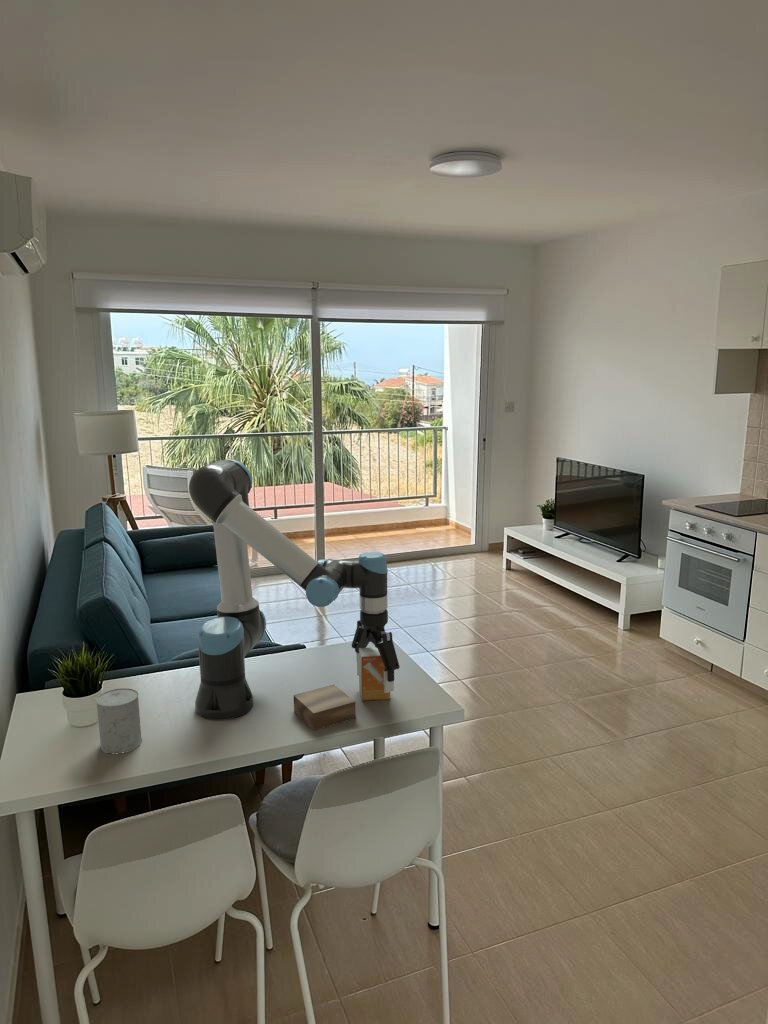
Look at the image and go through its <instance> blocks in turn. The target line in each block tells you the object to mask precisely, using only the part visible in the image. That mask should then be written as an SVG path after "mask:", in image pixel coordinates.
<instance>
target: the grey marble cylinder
mask: <svg viewBox="0 0 768 1024" xmlns="http://www.w3.org/2000/svg"><path fill="white" fill-rule="evenodd" d="M95 702H96V710H97V720H98V729H99V730H98V731H99V740H100V750H101V751H102V752H103V753H105V752H106V753H105V754H107V753H114V754H113V755H116V754H115V753H122V752H126V753H128V752H127V751H129V752H131V751H130V750H132V751H134V750H136V749H137V748H139V747H140V746H141V745H140V744H142V742H143V738H142V728H141V726H142V725H141V717H140V716H141V715H140V704H139V703H140V702H139V692H138V691H137V690H136V689H133V688H128V687H126V688H125V687H124V688H123V687H122V688H115V689H114V688H113V689H110V690H107V691H105V692H103V693H101V694H99V695H98V696H97V697H96V699H95ZM139 745H140V746H139ZM138 746H139V747H138ZM135 748H136V749H135ZM133 749H134V750H133ZM122 754H123V753H122Z"/></svg>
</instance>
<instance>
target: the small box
mask: <svg viewBox="0 0 768 1024" xmlns="http://www.w3.org/2000/svg"><path fill="white" fill-rule="evenodd" d="M384 669H386V668H385V666H384V663H383V661H382V658H381V656H380V653H379V651H378V648H376V647H375V646H372V647H366V648H359V677H358V685H359V687H358V689H359V694H360V700H361V701H373V700H374V701H375V700H377V701H378V700H390V699H391V692H388V693H384Z"/></svg>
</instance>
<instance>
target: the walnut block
mask: <svg viewBox="0 0 768 1024" xmlns="http://www.w3.org/2000/svg"><path fill="white" fill-rule="evenodd" d="M356 706H357V705H356V700H354V699H353V698H352V697H351V696H349V695H348V694H347V693H346V692H344V691H343V690H342V689H340V688H339V687H338V686H337V685H335V684H331V685H327V686H324V687H323V686H322V687H319V688H315V689H311V690H308V691H303V692H300V693H296V694H293V713H295V714H296V715H297V716H299V718H300V719H301V720H302V721H304V722H305V723H306V724H307V725H308V726H309V727H310V728H311V729H312V730H313V731H317V730H320V728H321V729H324V728H327V726H328V727H331V726H334V725H337V723H338V724H340V723H344V721H345V722H348V721H350V720H351V721H352V720H354V719H356V718H357V717H356V716H357V715H356V713H357V712H356V711H357V709H356V708H357V707H356ZM333 724H334V725H333ZM330 725H331V726H330ZM323 727H324V728H323Z"/></svg>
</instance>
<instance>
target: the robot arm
mask: <svg viewBox="0 0 768 1024" xmlns="http://www.w3.org/2000/svg"><path fill="white" fill-rule="evenodd" d="M188 483H189V484H188V493H189V495H190V498H191V500H192V502H193V503H194V505H195V506H196V507H197V508H198V510H199V511H200V512H201V513H203V514H204V515H205V516H206V517H207V518H208V519H210V520H211V521H212V527H213V534H214V543H215V544H214V545H215V552H216V561H217V562H216V563H217V571H218V578H219V580H218V581H219V589H220V598H221V600H220V602H219V604H217V606H216V611H217V612H216V614H217V617H215V618H213V619H209V620H207V621H205V622H204V623H203V624H202V625H201V626H200V627H199V629H198V632H197V647H198V658H199V659H198V660H199V663H198V664H199V673H200V674H199V675H200V683H199V687H198V691H197V694H196V698H195V701H194V702H195V703H194V704H195V706H194V707H195V713H196V714H197V715H198V716H199V717H200V718H204V719H205V720H213V721H220V720H221V721H223V720H231V719H234V718H235V719H236V718H239V717H240V716H241V717H242V716H244V715H245V714H247V713H248V712H250V711H251V709H252V708H253V707H254V696H253V693H252V690H251V688H250V686H249V683H248V681H247V679H246V663H245V659H246V658H245V657H246V656H247V654H249V653H250V652H251V651H252V650H253V648H255V646H256V645H258V644H259V642H260V641H261V640H262V639H263V636H264V635H265V632H266V629H267V620H266V616H265V613H264V612H263V610H261V609H260V603H259V601H258V600H257V599H256V598H255V597H253V588H252V580H251V579H252V578H251V568H250V560H249V559H250V558H249V557H250V556H249V551H248V550H249V549H248V548H249V547H251V548H252V549H253V550H254V551H256V552H257V553H258V554H260V556H262V557H264V558H265V560H266V561H268V562H269V563H270V564H272V565H273V566H274V567H276V569H278V570H280V571H281V572H282V573H283V574H284V575H285V576H287V578H289V579H290V580H292V581H293V582H294V583H295V584H296V585H298V586H299V587H300V588H302V590H304V591H305V596H306V599H307V601H308V602H309V603H310V604H311V605H313V606H314V607H318V608H325V607H327V606H330V604H332V603H333V602H334V601H336V600H337V599H338V596H339V595H340V593H341V592H342V591H343V589H359V609H360V612H359V619H358V620H357V621H356V630H355V633H354V636H353V639H352V643H351V648H352V649H354V651H355V653H356V671H357V676H359V648H368V645H369V643H370V642H371V644H373V645H374V647H376V648H378V651H379V653H380V656H381V658H382V661H383V663H384V666H385V668H386V669H384V693H388V692H390V693H391V692H394V691H395V670H399V669H400V668H401V667H400V664H399V659H398V657H397V656H398V655H397V653H396V652H397V651H396V648H395V645H394V641H393V633H392V632H391V631H388V632H387V631H386V630H385V629H386V628H385V626H386V625H387V624H388V622H389V618H388V617H389V611H388V572H389V571H388V565H387V564H388V562H387V556H386V555H385V553H382V552H379V551H369V552H368V551H366V552H362V553H360V554H359V556H358V558H357V559H355V560H354V559H334V558H327V559H326V558H325V559H318V560H317V561H316V559H315V558H313V557H312V556H310V555H309V554H308V553H307V552H306V551H305V550H303V549H302V548H301V547H300V546H298V545H297V544H296V543H294V542H293V541H292V540H291V539H289V538H288V537H287V536H286V535H285V534H283V533H282V532H281V531H280V530H279V529H277V528H276V527H275V526H273V524H271V523H270V522H268V521H267V520H266V519H265V518H264V517H262V516H261V515H260V514H259V513H258V512H256V511H255V510H254V509H253V508H252V507H250V503H249V502H250V501H249V493H250V491H251V490H252V487H253V476H252V473H251V472H250V470H249V468H248V467H247V466H246V465H245V464H244V463H242V462H241V461H238V460H236V459H233V458H231V459H230V458H229V459H221V460H220V459H218V460H217V461H215V462H213V463H210V464H205V465H203V466H201V467H200V468H198V469H197V470H196V471H194V473H193V474H192V475H191V477H190V480H189V482H188ZM248 545H249V547H248Z"/></svg>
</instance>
